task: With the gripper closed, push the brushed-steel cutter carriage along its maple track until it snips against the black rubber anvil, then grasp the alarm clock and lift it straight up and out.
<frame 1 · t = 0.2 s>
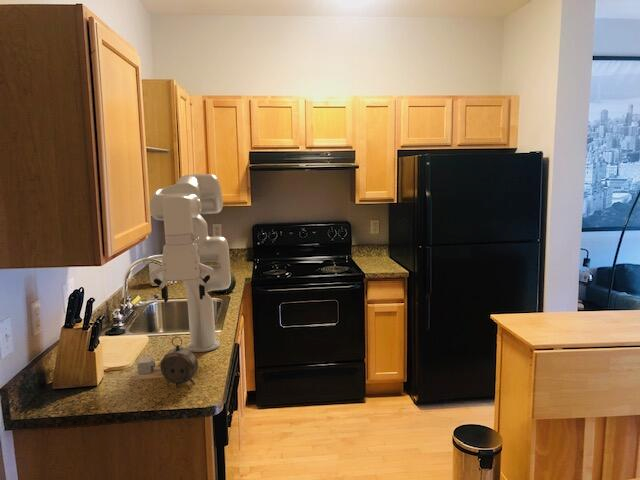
hand: (184, 299, 132), 31 cm above the countertop, tool pointing down, fingers open, 9 cm apart
cutter carriage: (146, 365, 154), point 4 cm above the countertop, slide at 0.0 cm
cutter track: (159, 374, 156), on the countertop
squash: (222, 292, 263), on the countertop
alarm clock: (180, 386, 147), on the countertop
utensil holder: (162, 284, 285), on the countertop
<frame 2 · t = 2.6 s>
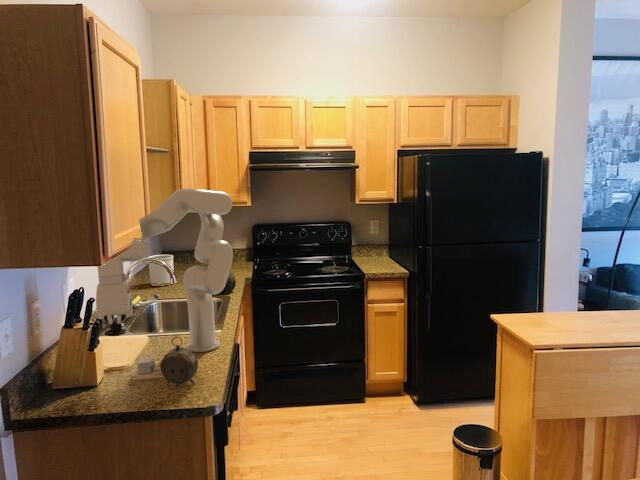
hand: (117, 334, 151), 15 cm above the countertop, tool pointing down, fingers closed
nothing on the countertop moved.
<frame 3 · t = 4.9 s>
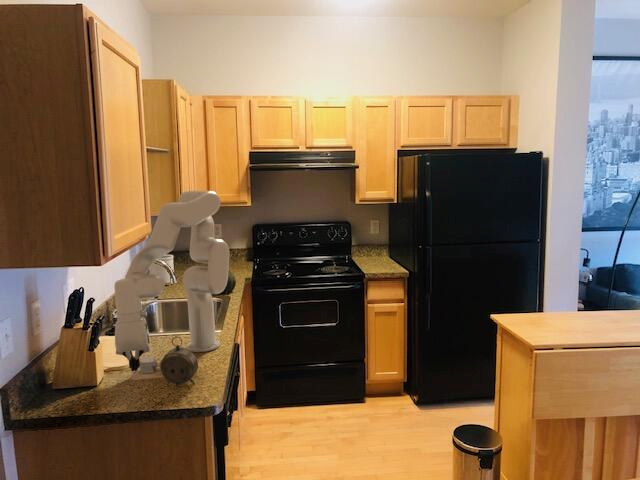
hand: (135, 369, 154), 2 cm above the countertop, tool pointing down, fingers closed
cutter carriage: (149, 364, 155), point 4 cm above the countertop, slide at 0.8 cm, touching gripper
everything else where it was.
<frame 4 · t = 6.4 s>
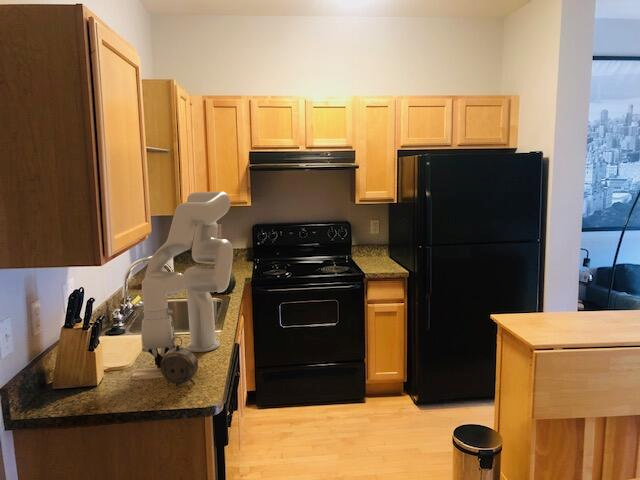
hand: (160, 366, 155), 3 cm above the countertop, tool pointing down, fingers closed
cutter carriage: (174, 362, 156), point 4 cm above the countertop, slide at 8.8 cm, touching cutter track, gripper
everything else where it was.
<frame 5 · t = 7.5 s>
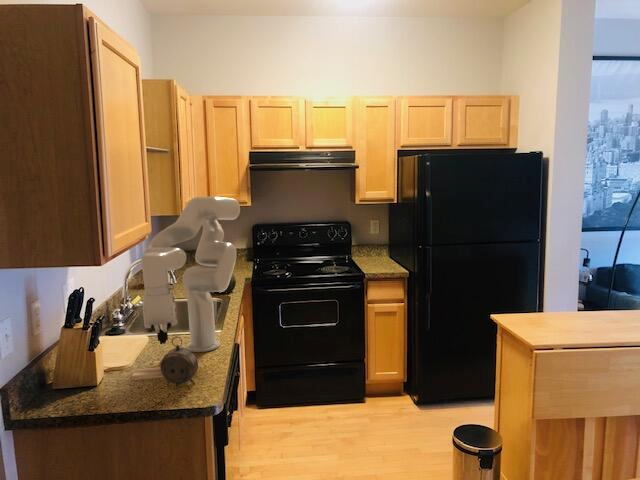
hand: (163, 342, 155), 11 cm above the countertop, tool pointing down, fingers closed
cutter carriage: (173, 362, 156), point 4 cm above the countertop, slide at 8.5 cm
everything else where it was.
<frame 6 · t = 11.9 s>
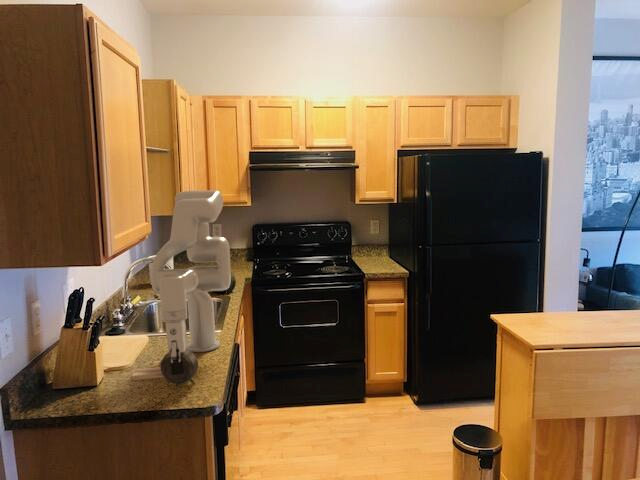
hand: (178, 369, 146), 6 cm above the countertop, tool pointing down, fingers closed on alarm clock, 6 cm apart
alarm clock: (180, 386, 147), on the countertop, touching gripper
everything else where it was.
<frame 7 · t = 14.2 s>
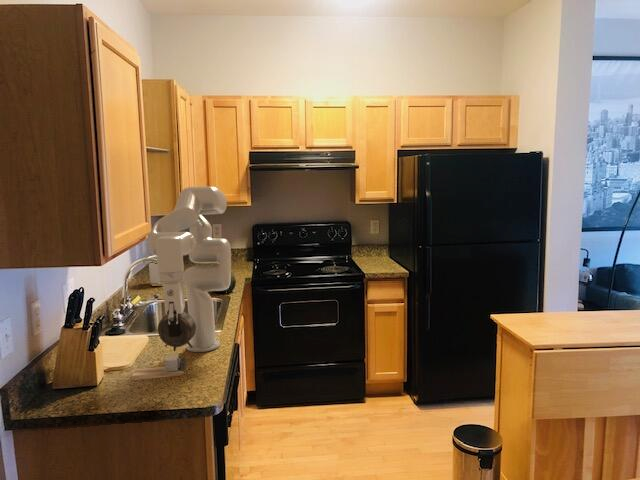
hand: (176, 331, 145), 18 cm above the countertop, tool pointing down, fingers closed on alarm clock, 6 cm apart
alarm clock: (177, 349, 146), point 12 cm above the countertop, touching gripper
everything else where it was.
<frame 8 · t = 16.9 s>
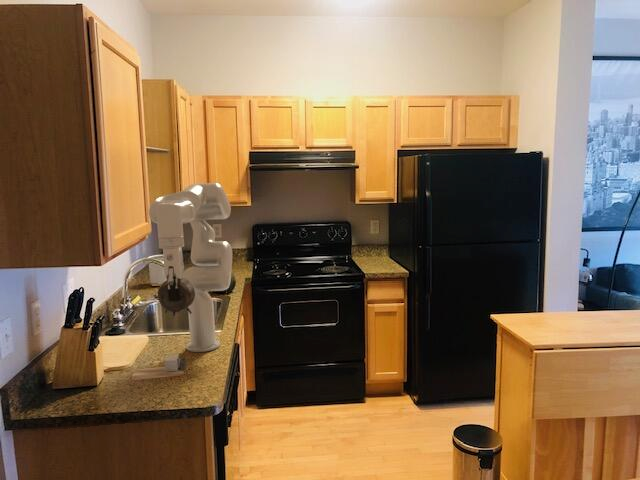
hand: (175, 297, 148), 27 cm above the countertop, tool pointing down, fingers closed on alarm clock, 6 cm apart
alarm clock: (177, 315, 149), point 22 cm above the countertop, touching gripper
everything else where it was.
at the end: cutter carriage slide at 8.5 cm; alarm clock point 21.6 cm above the countertop; the gripper is holding alarm clock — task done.
